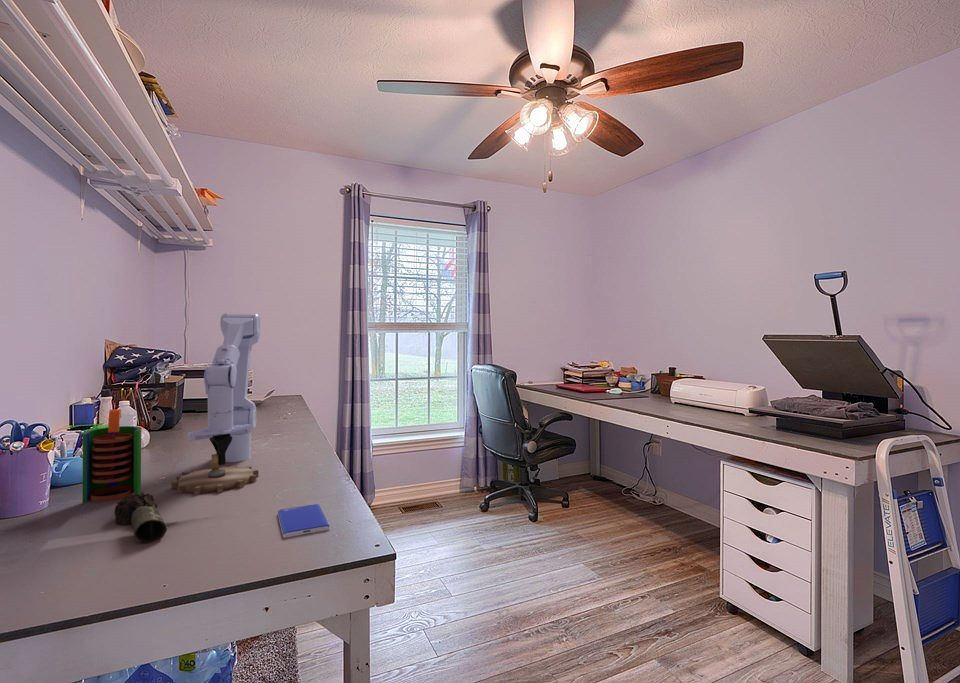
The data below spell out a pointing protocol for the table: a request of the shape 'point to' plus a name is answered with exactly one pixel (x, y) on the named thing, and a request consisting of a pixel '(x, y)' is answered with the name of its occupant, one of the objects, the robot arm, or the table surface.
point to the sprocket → (215, 478)
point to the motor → (111, 460)
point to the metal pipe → (141, 517)
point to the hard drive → (302, 520)
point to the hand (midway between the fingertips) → (220, 464)
